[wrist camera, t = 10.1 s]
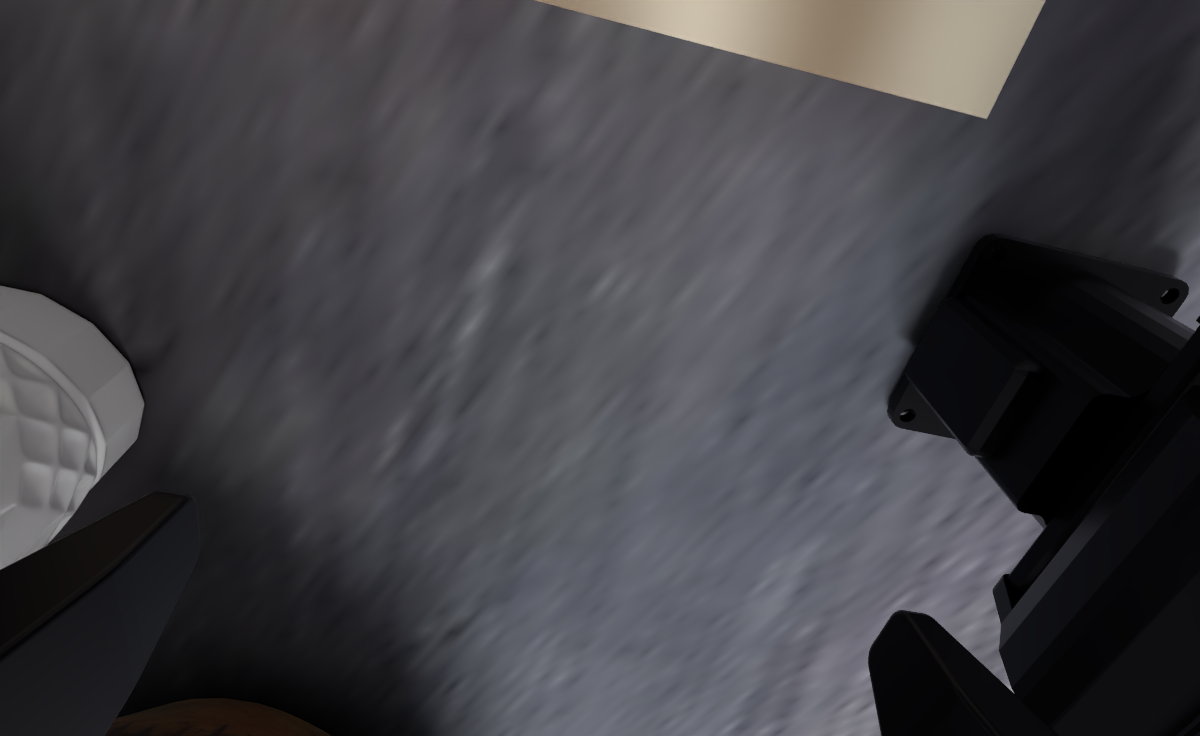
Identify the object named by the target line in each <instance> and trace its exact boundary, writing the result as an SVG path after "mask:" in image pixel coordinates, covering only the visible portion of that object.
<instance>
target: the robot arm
mask: <svg viewBox="0 0 1200 736" xmlns="http://www.w3.org/2000/svg"><path fill="white" fill-rule="evenodd" d="M996 247H999V252H998V253H997V255H996V256H995V257H993V258H991V259H988V255H989V253H990V252H991V251H992V249H994V248H996ZM1168 289H1169V290H1168ZM1166 290H1168V292H1167V293H1166V294H1165V295H1164V296H1163V297H1161V296H1162V294H1163V293H1164V292H1165V291H1166ZM1188 291H1189V287H1188V285H1187V283H1185V282H1183V281H1181V280H1179V279H1177V278H1175V277H1173V276H1171V275H1168V274H1164V273H1160V272H1156V271H1151V270H1147V269H1143V268H1139V267H1135V266H1131V265H1126V264H1122V263H1118V262H1114V261H1110V260H1106V259H1102V258H1097V257H1093V256H1089V255H1085V254H1081V253H1077V252H1072V251H1068V250H1064V249H1060V248H1056V247H1052V246H1048V245H1043V244H1039V243H1035V242H1031V241H1027V240H1023V239H1019V238H1014V237H1010V236H1006V235H1002V234H990V235H987V236H984V237H983V238H982V239H980V240H979V241H978V242H977V243H976V245H975V246H974V248H973V250H972V251H971V253H970V255H969V257H968V259H967V261H966V263H965V264H964V266H963V268H962V270H961V272H960V274H959V276H958V277H957V279H956V281H955V283H954V285H953V287H952V289H951V291H950V292H949V294H948V296H947V298H946V300H945V301H943V302H942V303H941V304H940V306H939V308H938V310H937V312H936V314H935V316H934V317H933V319H932V321H931V323H930V325H929V327H928V329H927V330H926V332H925V334H924V336H923V338H922V340H921V342H920V344H919V345H918V347H917V349H916V351H915V353H914V355H913V357H912V359H911V360H910V362H909V364H908V366H907V368H906V370H905V373H906V374H905V376H904V378H903V380H902V382H901V384H900V385H899V387H898V389H897V391H896V393H895V395H894V397H893V398H892V400H891V402H890V404H889V406H888V409H887V413H888V416H889V418H890V419H891V421H892V422H893V423H894V425H895V426H897V427H899V428H902V429H907V430H912V431H918V432H923V433H928V434H933V435H938V436H943V437H948V438H953V439H956V440H957V441H958V442H959V444H960V445H961V446H962V447H963V449H964V450H965V451H966V452H967V453H968V454H969V455H971V456H975V458H976V459H977V460H978V461H979V462H980V464H981V465H982V466H983V467H984V469H985V470H986V471H987V472H988V474H989V475H990V476H991V477H992V478H993V480H994V481H995V482H996V483H997V485H998V486H999V487H1000V488H1001V490H1002V491H1003V492H1004V493H1005V494H1006V496H1007V497H1008V498H1009V499H1010V501H1011V502H1012V503H1013V504H1014V506H1015V507H1016V508H1017V509H1018V510H1019V511H1021V512H1023V513H1028V514H1032V515H1033V517H1034V518H1035V519H1036V520H1037V521H1038V523H1039V524H1040V525H1041V526H1042V527H1043V529H1044V530H1043V531H1042V533H1041V534H1040V535H1039V537H1038V538H1037V539H1036V540H1035V542H1034V543H1033V544H1032V546H1031V547H1030V548H1029V550H1028V551H1027V552H1026V554H1025V555H1024V556H1023V558H1022V559H1021V560H1020V561H1019V563H1018V564H1017V565H1016V567H1015V568H1014V569H1013V571H1012V572H1011V573H1010V574H1004V575H1003V576H1002V578H1001V579H1000V580H999V582H998V583H997V584H996V585H995V587H994V588H993V595H994V599H995V603H996V607H997V610H998V614H999V618H1000V622H1001V634H1000V645H999V652H1000V655H1001V658H1002V661H1003V664H1004V667H1005V670H1006V673H1007V676H1008V679H1009V682H1010V685H1011V688H1012V690H1013V692H1014V693H1015V694H1014V693H1013V692H1012V691H1011V690H1009V689H1008V688H1007V687H1006V686H1005V685H1004V684H1003V683H1002V682H1001V681H1000V680H999V679H998V678H997V677H996V676H994V675H993V674H992V673H991V672H990V671H989V670H988V669H987V668H986V667H985V666H984V665H983V664H982V663H980V662H979V661H978V660H977V659H976V658H975V657H974V656H973V655H972V654H971V653H970V652H969V651H968V650H967V649H965V648H964V647H963V646H962V645H961V644H960V643H959V642H958V641H957V640H956V639H955V638H954V637H953V636H952V635H950V634H949V633H948V632H947V631H946V630H945V629H944V628H943V627H942V626H941V625H940V624H939V623H938V622H937V621H935V620H934V619H933V618H932V617H930V616H929V615H926V614H924V613H917V612H911V611H905V610H899V611H897V612H895V613H893V615H892V616H891V617H890V619H889V620H888V622H887V623H886V625H885V626H884V628H883V629H882V631H881V632H880V634H879V635H878V637H877V638H876V640H875V641H874V643H873V644H872V646H871V648H870V651H869V657H868V665H869V672H870V677H871V682H872V688H873V693H874V699H875V704H876V710H877V715H878V720H879V726H880V731H881V736H1200V326H1199V327H1198V328H1197V330H1196V331H1194V330H1192V329H1191V328H1189V327H1187V326H1185V325H1184V324H1182V323H1180V322H1178V321H1177V320H1175V319H1173V318H1172V317H1173V316H1174V314H1175V313H1176V312H1177V310H1178V309H1179V307H1180V306H1181V305H1182V303H1183V302H1184V301H1185V299H1186V297H1187V295H1188ZM1196 321H1197V322H1198V323H1200V316H1199V317H1198V319H1197V320H1196ZM906 409H910V411H909V412H908V413H907V414H905V415H900V414H901V413H902V412H903V411H904V410H906ZM200 549H201V539H200V528H199V518H198V508H197V502H196V500H195V498H194V497H193V496H191V495H188V494H182V493H176V492H170V491H164V490H157V491H153V492H151V493H148V494H146V495H144V496H142V497H140V498H139V499H137V500H135V501H133V502H131V503H129V504H127V505H125V506H123V507H121V508H119V509H117V510H115V511H113V512H111V513H109V514H107V515H105V516H104V517H102V518H100V519H98V520H96V521H94V522H92V523H90V524H88V525H86V526H84V527H82V528H80V529H78V530H76V531H74V532H72V533H70V534H69V535H67V536H65V537H63V538H61V539H59V540H57V541H55V542H53V543H51V544H49V545H47V546H45V547H43V548H41V549H39V550H37V551H35V552H34V553H32V554H30V555H28V556H26V557H24V558H22V559H20V560H18V561H16V562H14V563H12V564H10V565H8V566H6V567H4V568H2V569H1V570H0V736H105V735H106V733H107V731H108V730H109V728H110V727H111V725H112V723H113V722H114V720H115V719H116V717H117V716H118V714H119V712H120V711H121V709H122V708H123V706H124V704H125V703H126V701H127V699H128V698H129V696H130V694H131V693H132V691H133V689H134V688H135V686H136V684H137V682H138V680H139V678H140V676H141V674H142V672H143V670H144V669H145V667H146V665H147V663H148V661H149V659H150V657H151V655H152V653H153V651H154V649H155V647H156V644H157V642H158V640H159V638H160V636H161V634H162V632H163V630H164V628H165V626H166V624H167V622H168V620H169V618H170V616H171V614H172V612H173V610H174V608H175V606H176V604H177V602H178V600H179V598H180V596H181V594H182V592H183V590H184V588H185V586H186V584H187V582H188V580H189V578H190V576H191V574H192V572H193V570H194V568H195V566H196V563H197V561H198V558H199V554H200Z"/></svg>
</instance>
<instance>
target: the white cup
mask: <svg viewBox="0 0 1200 736" xmlns="http://www.w3.org/2000/svg"><path fill="white" fill-rule="evenodd" d="M143 409H144V400H143V398H142V395H141V392H140V390H139V387H138V384H137V382H136V379H135V377H134V374H133V371H132V369H131V366H130V364H129V362H128V361H127V360H126V359H125V358H124V357H123V355H122V354H121V353H120V352H119V351H118V350H117V349H116V348H115V347H114V346H113V345H112V344H111V342H110V341H109V340H108V339H107V338H106V337H105V336H104V335H103V334H102V333H101V332H100V331H99V330H98V329H97V327H96V326H95V325H94V324H92V323H91V322H89V321H87V320H86V319H84V318H82V317H80V316H79V315H77V314H75V313H73V312H72V311H70V310H68V309H66V308H65V307H63V306H61V305H59V304H58V303H56V302H54V301H52V300H51V299H49V298H47V297H45V296H43V295H41V294H38V293H33V292H29V291H24V290H19V289H14V288H10V287H5V286H0V570H1V569H2V568H4V567H6V566H8V565H10V564H12V563H14V562H16V561H18V560H20V559H22V558H24V557H26V556H28V555H30V554H32V553H34V552H35V551H37V550H39V549H41V548H43V547H45V546H47V544H48V543H49V542H50V541H51V540H52V539H53V538H54V537H55V536H56V535H57V534H58V532H59V531H60V530H61V529H62V528H63V527H64V525H65V524H66V523H67V522H68V521H69V519H70V518H71V517H72V516H73V515H74V513H75V512H77V510H78V509H79V506H80V504H81V503H82V501H83V500H84V498H85V497H86V495H87V493H88V492H89V491H90V490H91V489H92V488H93V487H94V486H95V485H96V483H97V482H98V481H99V480H100V479H101V478H102V477H103V476H104V474H105V473H106V472H107V471H108V470H109V469H110V468H111V467H112V466H113V465H114V464H115V463H116V462H117V461H118V459H119V458H120V457H121V456H122V455H123V454H124V453H125V452H126V451H127V450H128V449H129V448H130V447H131V446H132V444H133V443H134V442H135V441H136V440H137V438H138V434H139V429H140V424H141V419H142V414H143Z"/></svg>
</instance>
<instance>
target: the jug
mask: <svg viewBox="0 0 1200 736" xmlns="http://www.w3.org/2000/svg"><path fill="white" fill-rule="evenodd" d="M105 736H331V735H329V734H328V733H326V732H324V731H323V730H321V729H319V728H317V727H315V726H313V725H312V724H310V723H308V722H306V721H304V720H302V719H299V718H297V717H295V716H293V715H290V714H288V713H286V712H283V711H281V710H278V709H275V708H272V707H269V706H266V705H262V704H259V703H254V702H247V701H241V700H235V699H228V698H208V699H190V700H184V701H178V702H173V703H170V704H166V705H162V706H159V707H155V708H152V709H148V710H144V711H141V712H137V713H133V714H130V715H126V716H123V717H119V718H116V719H115V720H114V722H113V723H112V725H111V727H110V728H109V730H108V731H107V733H106V735H105Z"/></svg>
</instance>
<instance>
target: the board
mask: <svg viewBox="0 0 1200 736" xmlns="http://www.w3.org/2000/svg"><path fill="white" fill-rule="evenodd" d="M536 1H540V2H543V3H547V4H551V5H555V6H559V7H562V8H566V9H570V10H574V11H578V12H581V13H585V14H589V15H593V16H597V17H600V18H604V19H608V20H612V21H616V22H620V23H623V24H627V25H631V26H635V27H639V28H642V29H646V30H650V31H654V32H658V33H661V34H665V35H669V36H673V37H677V38H680V39H684V40H688V41H692V42H696V43H699V44H703V45H707V46H711V47H715V48H718V49H722V50H726V51H730V52H734V53H737V54H741V55H745V56H749V57H753V58H756V59H760V60H764V61H768V62H772V63H775V64H779V65H783V66H787V67H791V68H794V69H798V70H802V71H806V72H810V73H813V74H817V75H821V76H825V77H829V78H832V79H836V80H840V81H844V82H848V83H852V84H855V85H859V86H863V87H867V88H871V89H874V90H878V91H882V92H886V93H890V94H893V95H897V96H901V97H905V98H909V99H912V100H916V101H920V102H924V103H928V104H931V105H935V106H939V107H943V108H947V109H950V110H954V111H958V112H962V113H966V114H969V115H973V116H977V117H981V118H985V119H987V118H988V116H989V114H990V112H991V109H992V107H993V105H994V103H995V101H996V99H997V97H998V95H999V93H1000V91H1001V89H1002V87H1003V85H1004V83H1005V81H1006V79H1007V77H1008V75H1009V73H1010V71H1011V69H1012V67H1013V65H1014V63H1015V61H1016V59H1017V57H1018V55H1019V53H1020V51H1021V49H1022V47H1023V45H1024V43H1025V41H1026V39H1027V37H1028V35H1029V33H1030V31H1031V29H1032V27H1033V25H1034V23H1035V21H1036V19H1037V17H1038V15H1039V13H1040V11H1041V9H1042V7H1043V5H1044V3H1045V1H1046V0H536Z"/></svg>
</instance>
